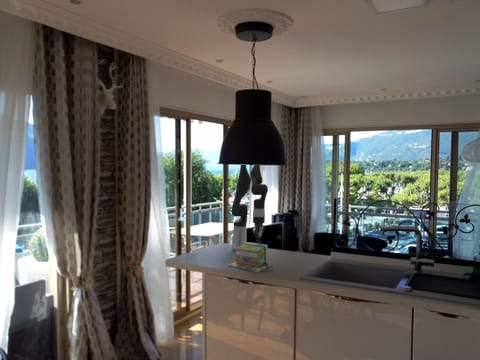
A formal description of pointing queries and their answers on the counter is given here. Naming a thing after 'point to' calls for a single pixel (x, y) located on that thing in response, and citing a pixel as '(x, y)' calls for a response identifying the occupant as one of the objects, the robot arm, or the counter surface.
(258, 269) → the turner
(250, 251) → the tea box
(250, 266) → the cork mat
